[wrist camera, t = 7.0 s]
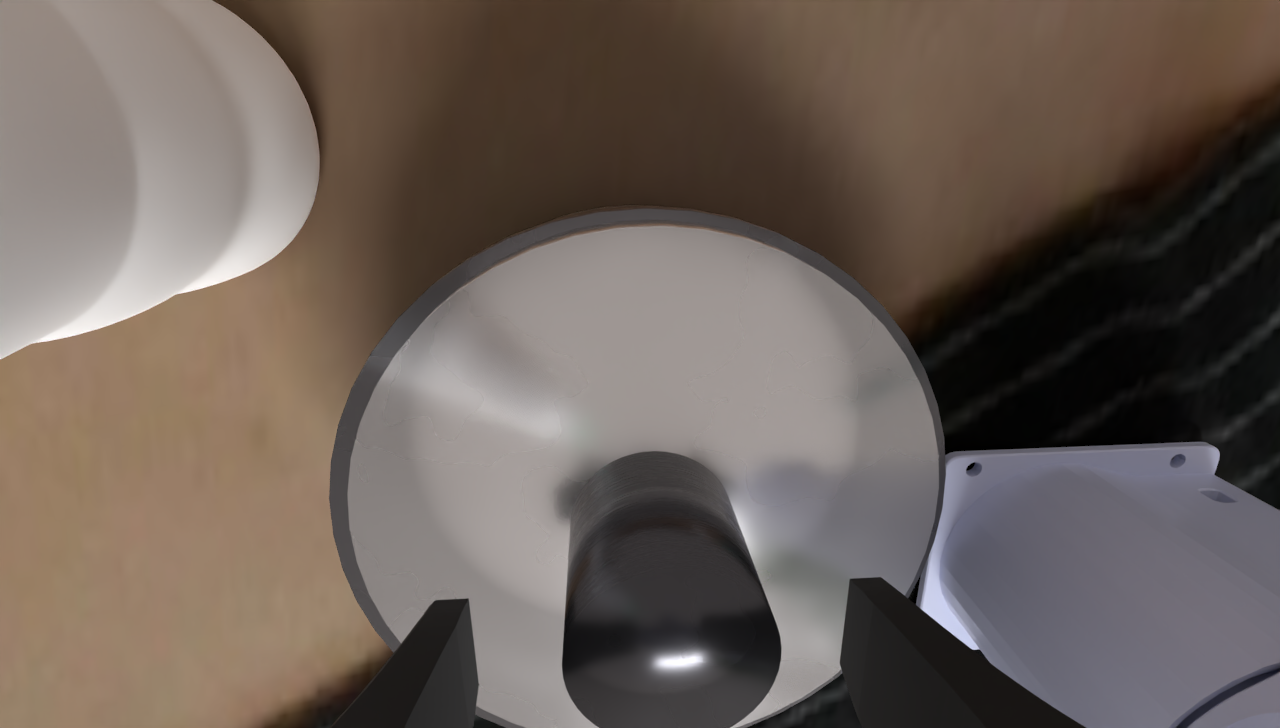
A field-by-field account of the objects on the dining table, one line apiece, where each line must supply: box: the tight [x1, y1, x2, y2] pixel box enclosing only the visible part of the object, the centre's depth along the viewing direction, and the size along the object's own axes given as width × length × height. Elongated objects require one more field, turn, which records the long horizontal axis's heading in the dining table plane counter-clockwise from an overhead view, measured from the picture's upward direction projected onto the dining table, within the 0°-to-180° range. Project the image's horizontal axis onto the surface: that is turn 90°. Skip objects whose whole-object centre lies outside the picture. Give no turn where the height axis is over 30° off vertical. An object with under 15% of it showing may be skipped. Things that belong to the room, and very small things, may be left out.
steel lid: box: [347, 219, 939, 728], centre depth 13 cm, size 13×13×5 cm
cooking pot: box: [329, 205, 946, 728], centre depth 18 cm, size 15×15×5 cm
